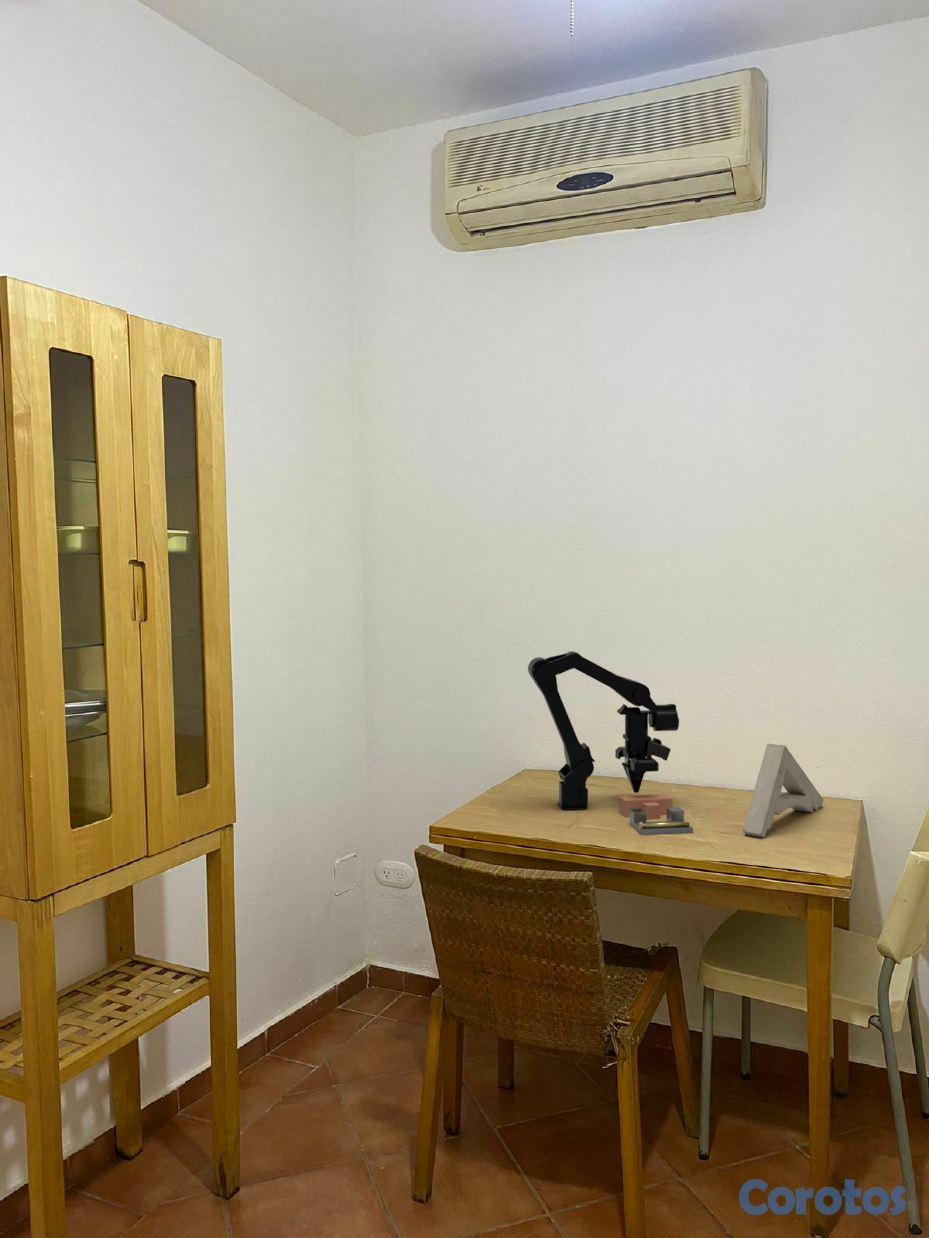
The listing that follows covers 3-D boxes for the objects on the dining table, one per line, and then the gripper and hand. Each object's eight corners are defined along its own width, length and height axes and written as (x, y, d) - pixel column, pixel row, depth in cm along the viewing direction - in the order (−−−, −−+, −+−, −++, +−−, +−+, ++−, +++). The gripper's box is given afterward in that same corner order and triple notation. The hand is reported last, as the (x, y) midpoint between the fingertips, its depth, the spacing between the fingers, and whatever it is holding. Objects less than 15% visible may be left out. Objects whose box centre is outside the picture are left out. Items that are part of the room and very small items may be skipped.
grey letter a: (802, 883, 240) (761, 834, 220) (785, 879, 243) (742, 831, 223) (823, 799, 248) (785, 745, 229) (806, 796, 251) (767, 743, 232)
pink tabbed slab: (630, 819, 237) (630, 803, 237) (619, 812, 245) (619, 796, 245) (677, 817, 239) (677, 800, 239) (664, 809, 247) (664, 793, 247)
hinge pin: (640, 829, 225) (640, 823, 225) (638, 828, 227) (638, 821, 226) (689, 828, 226) (689, 821, 226) (687, 826, 228) (687, 819, 228)
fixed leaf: (641, 834, 224) (641, 819, 224) (629, 823, 234) (629, 808, 234) (692, 832, 226) (692, 817, 226) (678, 821, 235) (678, 806, 235)
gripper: (679, 737, 242) (678, 800, 243) (656, 724, 260) (655, 783, 261) (634, 738, 241) (634, 801, 242) (614, 725, 259) (614, 784, 260)
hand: (636, 792), depth 251 cm, fingers closed
